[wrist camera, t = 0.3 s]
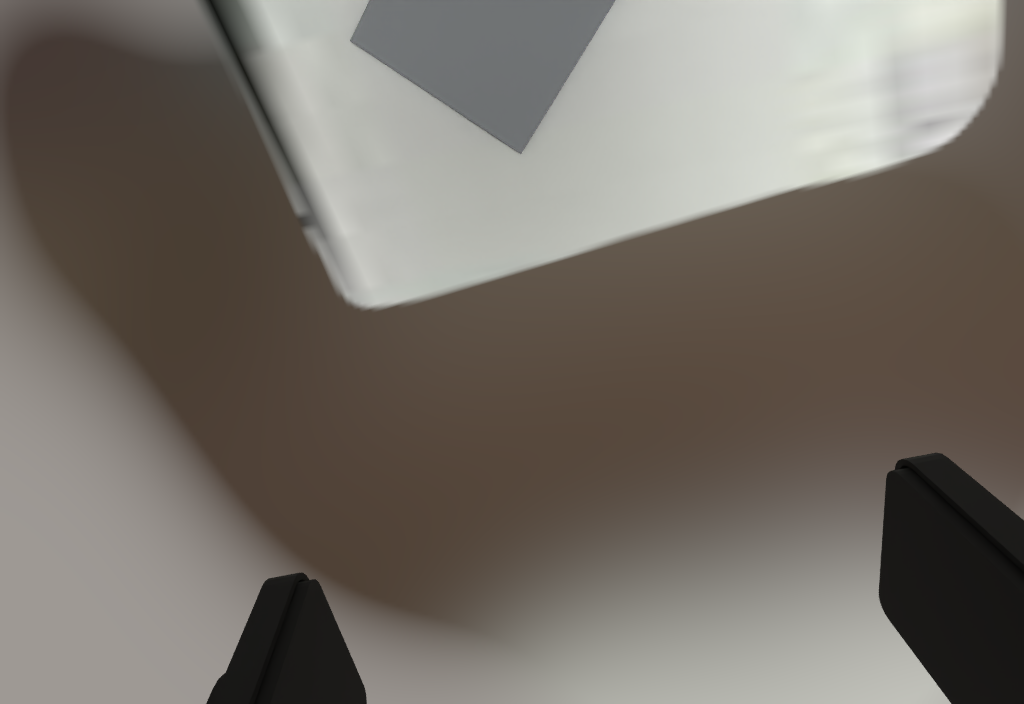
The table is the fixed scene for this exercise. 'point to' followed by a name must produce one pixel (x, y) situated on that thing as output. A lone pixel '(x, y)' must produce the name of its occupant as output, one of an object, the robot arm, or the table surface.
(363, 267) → the table surface
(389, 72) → the table surface
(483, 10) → the mat
